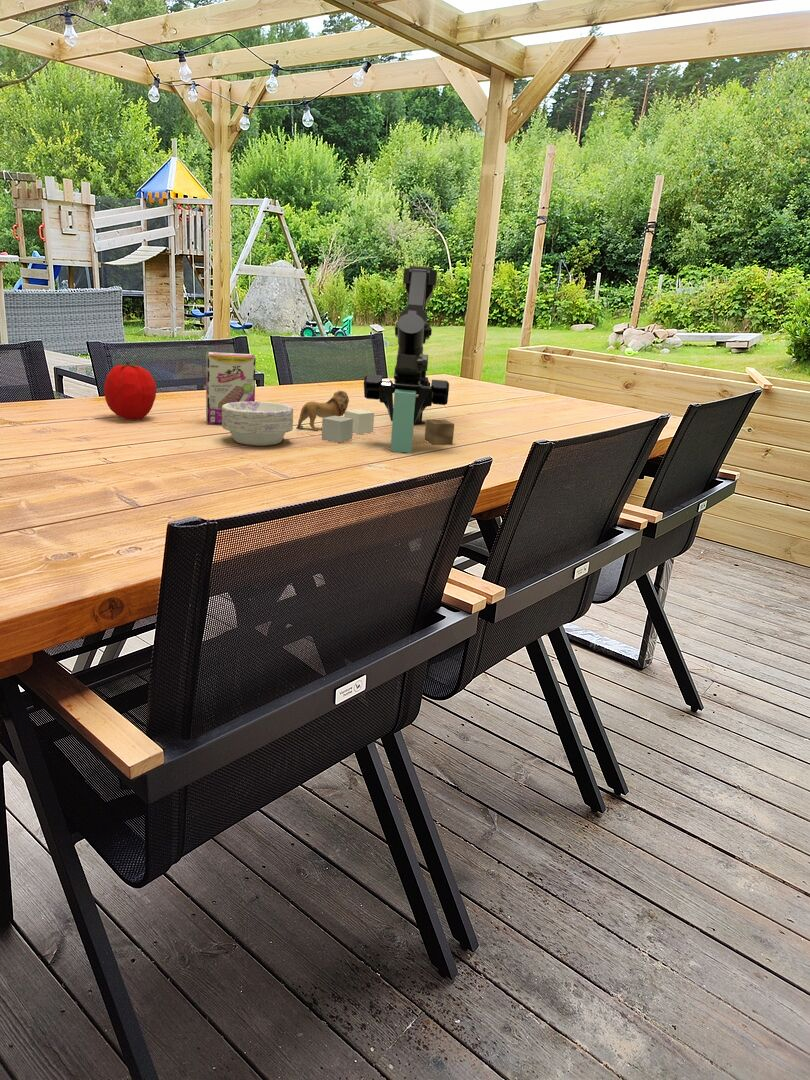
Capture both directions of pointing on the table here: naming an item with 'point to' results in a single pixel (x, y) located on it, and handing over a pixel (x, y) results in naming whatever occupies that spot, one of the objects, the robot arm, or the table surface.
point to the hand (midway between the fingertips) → (403, 421)
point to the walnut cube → (439, 432)
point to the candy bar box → (228, 382)
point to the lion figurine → (324, 409)
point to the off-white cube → (361, 420)
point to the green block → (403, 420)
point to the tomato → (130, 391)
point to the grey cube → (337, 428)
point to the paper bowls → (257, 422)
